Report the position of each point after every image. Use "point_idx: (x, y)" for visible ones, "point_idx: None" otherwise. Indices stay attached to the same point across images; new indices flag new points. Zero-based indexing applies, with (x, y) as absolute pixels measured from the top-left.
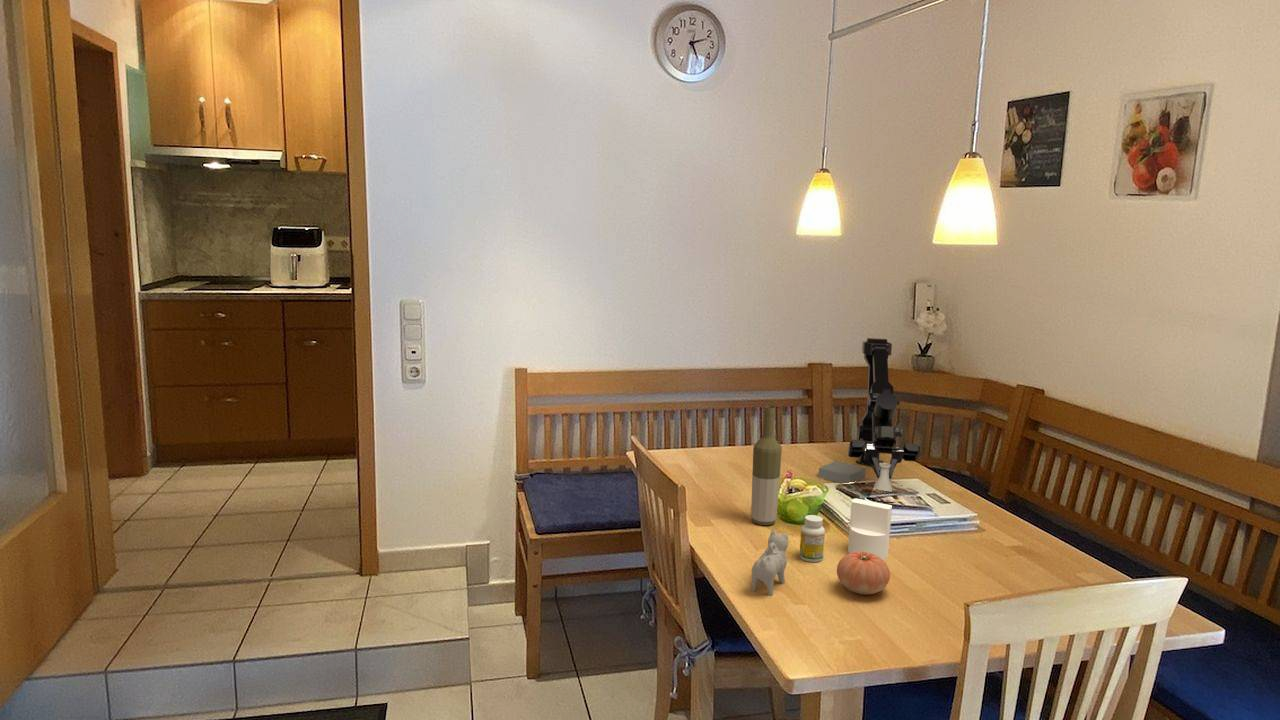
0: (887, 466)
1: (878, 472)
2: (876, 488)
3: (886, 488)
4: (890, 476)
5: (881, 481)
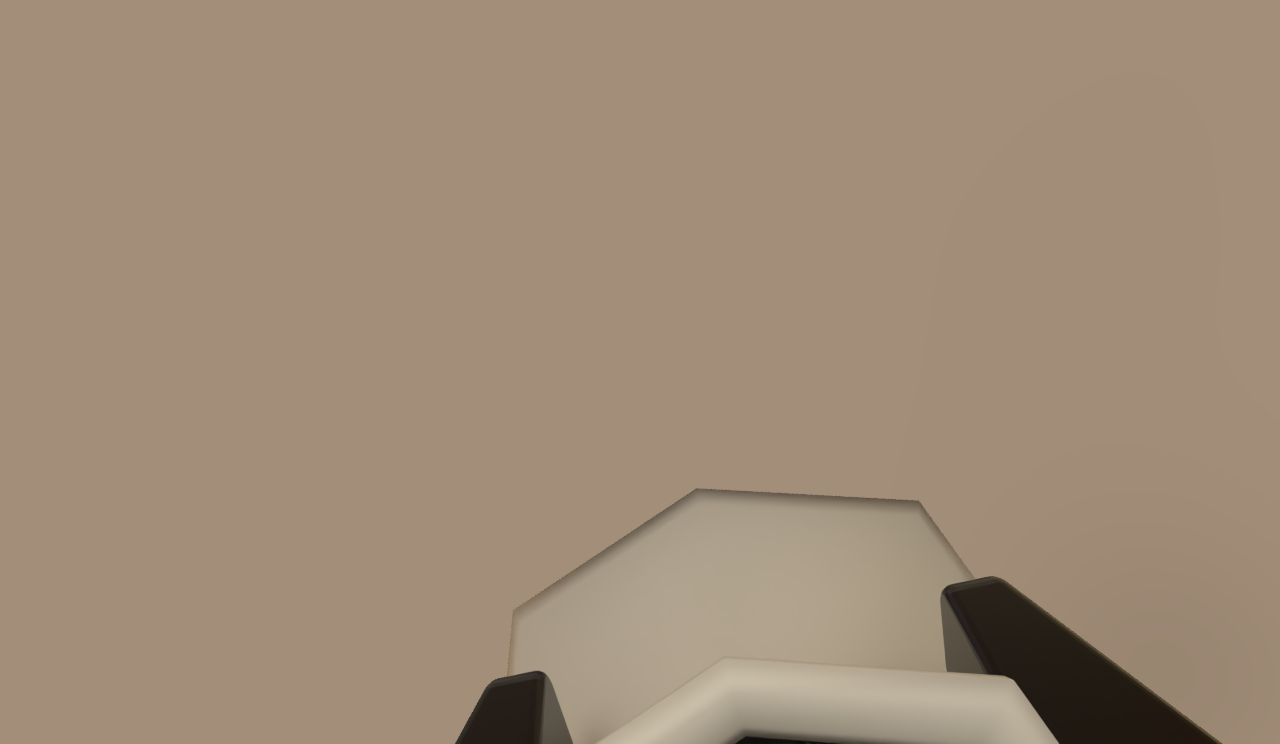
0: (638, 723)
1: (1031, 662)
2: (936, 609)
3: (668, 594)
4: (529, 684)
5: (835, 628)
